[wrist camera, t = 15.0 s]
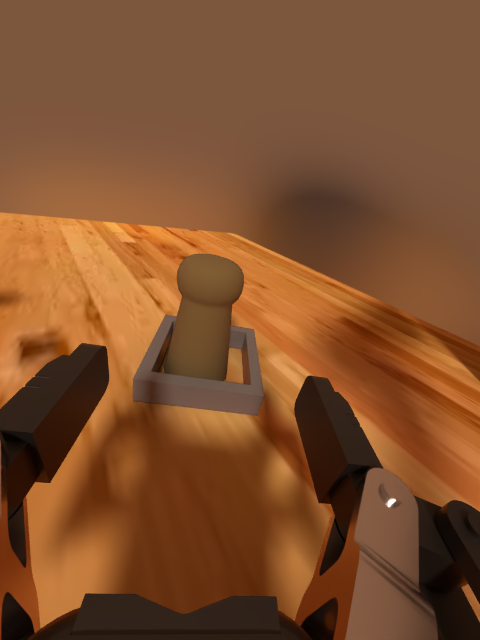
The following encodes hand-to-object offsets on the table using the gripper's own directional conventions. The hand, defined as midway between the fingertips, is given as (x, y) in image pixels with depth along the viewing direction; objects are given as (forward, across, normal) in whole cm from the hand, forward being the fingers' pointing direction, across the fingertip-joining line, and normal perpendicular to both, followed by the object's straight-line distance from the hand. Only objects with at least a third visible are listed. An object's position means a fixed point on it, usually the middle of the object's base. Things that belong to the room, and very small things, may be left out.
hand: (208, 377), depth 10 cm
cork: (+11, +1, +9) cm, 14 cm away
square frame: (+11, 0, +9) cm, 14 cm away
